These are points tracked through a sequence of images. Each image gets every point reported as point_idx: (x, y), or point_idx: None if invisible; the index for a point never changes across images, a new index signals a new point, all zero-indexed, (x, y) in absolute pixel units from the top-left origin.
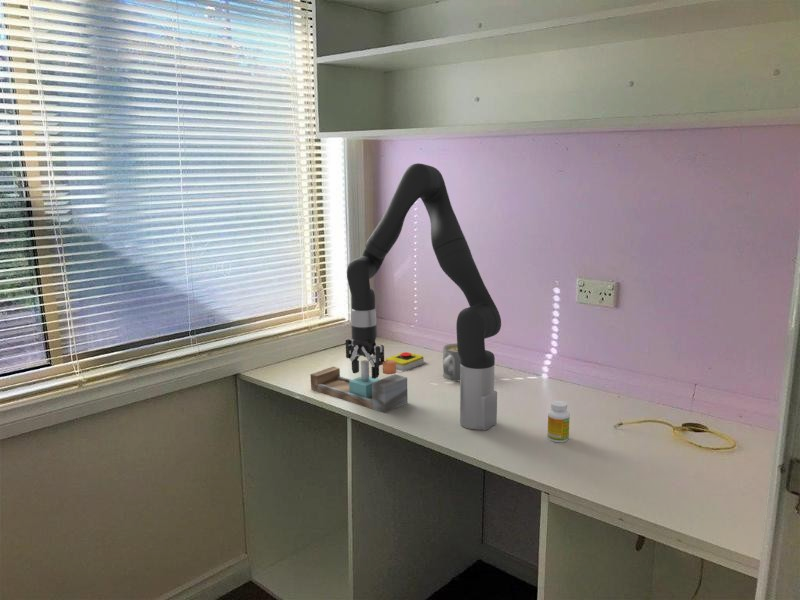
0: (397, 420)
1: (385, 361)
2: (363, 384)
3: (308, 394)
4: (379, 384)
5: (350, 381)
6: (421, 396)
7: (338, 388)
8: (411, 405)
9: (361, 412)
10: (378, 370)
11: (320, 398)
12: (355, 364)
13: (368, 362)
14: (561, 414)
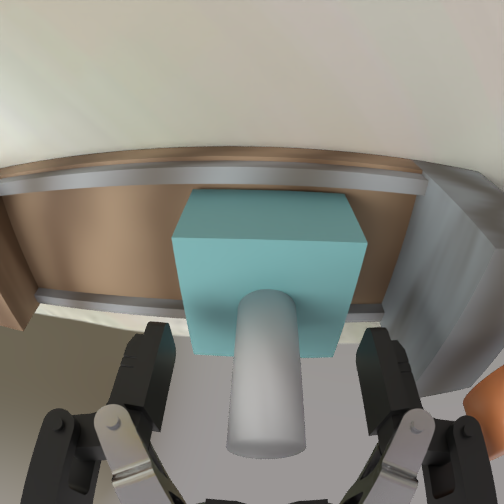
0: None
1: (497, 452)
2: (307, 352)
3: (67, 316)
4: (443, 390)
5: (204, 353)
6: (495, 61)
7: (101, 270)
8: (497, 187)
9: (350, 335)
10: (412, 383)
11: (123, 323)
12: (159, 402)
13: (304, 439)
14: None
